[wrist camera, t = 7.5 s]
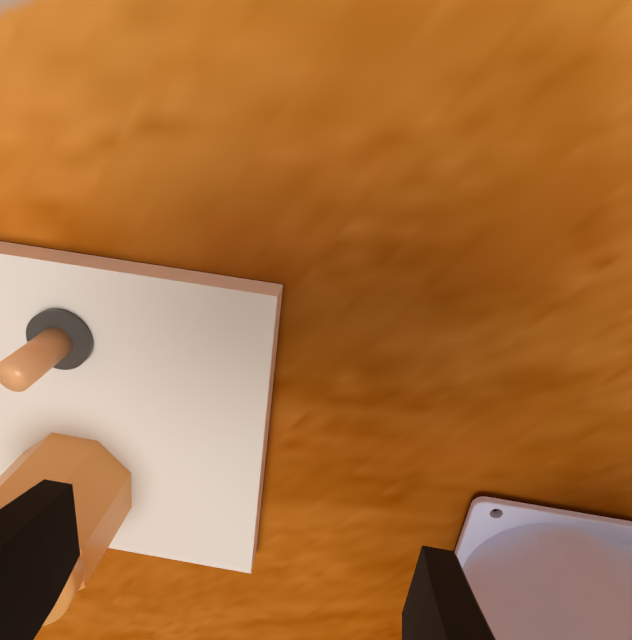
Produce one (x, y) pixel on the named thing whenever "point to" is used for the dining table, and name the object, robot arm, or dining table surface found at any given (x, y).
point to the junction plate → (146, 389)
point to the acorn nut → (76, 497)
